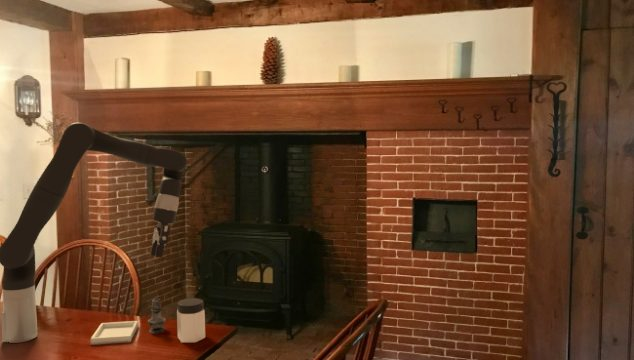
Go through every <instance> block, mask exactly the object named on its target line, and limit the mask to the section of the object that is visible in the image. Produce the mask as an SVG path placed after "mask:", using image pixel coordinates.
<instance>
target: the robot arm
mask: <svg viewBox="0 0 634 360" xmlns="http://www.w3.org/2000/svg"><path fill="white" fill-rule="evenodd" d="M87 151H92V152H99V153H103V154H108V155H112V156H116V157H118V158H121V159H124V160H126V161H129V162H133V163H137V164H141V165H144V166H149V167H155V166H156V167H158V168H163V171H162V179H161V182H160V184H159V185H160V186H159V188H158V189H159V190H158V195H157V197H156V200H155V204H154V209H153V214H152V219H151V220H152V222H156V223H157V225H154V229H153V233H152V234H153V235H152V237H151V244H152V246H151V250H150V256H153V257H156V258H163V255H164V249H165V247H166V245H167V244H168V241H169V234H170V230H171V225H174V224H175V223H176V218H177V215H178V209H179V200H180V197H181V190H182V180H183V176H184V171H185V168H186V166H187V163H188V160H187V159H188V158H187V157H186V155H185V153H183V152H181V151H178V150H174V149H171V148H163V147H157V146H155V145H151V144H148V143H144V142H140V141H136V140H133V139H132V140H131V139H128V138H122V137H117V136H115V135H112V134H108V133H105V132H102V131H100V130H98V129H96V128H94V127H93V126H92V127H91V125H89V124H88V123H84V122H73V123H71V124H69V125H68V126H67V127H65V130H64V132H63V134H62V136H61V139H60V141H59V144H58V145H57V148H56V150H55V153H54V154H53V156H52V158H51V160H50V162H49V163H48V165H47V166H46V167H45V169H44V170H43V172H42V174H41V175H40V177H39V178H38V179H37V181H36V183H35V185H34V186H33V189H32V190H31V191H30V194H29V196H28V198H27V200H26V202H25V204H24V206H23V209H22V211H21V213H20V216H19V218H18V220H17V222H16V224H15V225H14V227H13V228H12V230H11V231H10V233H9V234H8V235H7V237H6V238H5V240H4V241H3V243H2V244H1V245H0V265H1V266H2V267H3V274H2V275H3V276H2V279H1V288H2V289H1V291H2V293H1V295H2V306H3V311H2V312H1V313H0V321H1V336H2V337H1V338H2V339H1V340H2V343H8V342H9V343H10V344H17V343H19V344H20V343H25V342H28V341H31V340H33V339H35V338H36V337H38V326H37V325H38V323H37V321H38V320H37V305H36V304H37V303H36V302H37V301H36V281H35V279H36V250H35V246H34V245H35V244H36V241H37V240H38V237H39V235H40V233H41V232H42V231H43V229H44V228H45V226H46V225H47V224H48V223H49V221H50V220H51V219H52V218H53V216H54V214H55V213H56V211H57V210H58V208H59V207H60V205H61V203H62V202H63V200H64V198H65V196H66V194H67V192H68V189H69V186H70V184H71V181H72V178H73V175H74V173H75V169H76V168H77V166H78V164H79V163H80V161H81V159H82V158H83V156H84V155H85V153H87Z"/></svg>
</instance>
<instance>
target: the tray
mask: <svg viewBox="0 0 634 360" xmlns="http://www.w3.org/2000/svg"><path fill="white" fill-rule="evenodd" d="M138 327H139V321H138V320H130V321H113V322H101V323H100V325H99V326H98V327H97V329H96V330H95V332H94V333H93V334H92V336H91V337H90V345H93V346H95V345H108V344H121V343H131V342H132V340H133V338H134V336H135V333H136V332H137V330H138Z"/></svg>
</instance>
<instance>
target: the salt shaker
mask: <svg viewBox="0 0 634 360" xmlns="http://www.w3.org/2000/svg"><path fill="white" fill-rule="evenodd" d="M161 303H162V302H161V299H160V298H158V296H157V295H155V297H154V298H152V300H151V309H150V311H151V318H149V319H148V320H147V323H148V326H149V327H150V328H149V330H148V333H151V334H161V333H163V332H165V331H166V328H165V327H164V325H165V323H166V321H167V319H166V318H165V317H163V316H162V310H163V308H162V305H161Z"/></svg>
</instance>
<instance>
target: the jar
mask: <svg viewBox="0 0 634 360" xmlns="http://www.w3.org/2000/svg"><path fill="white" fill-rule="evenodd" d="M204 306H205V305H204V300H203V299H201V298H185V299H181V300H179V301H178V302H177V310H176V325H177V326H176V327H177V328H176V329H177V339H178V340H179V341H180V343H197V342H199V341H202V340H203V339H205V338H206V315H205V313H206V312H205V308H204Z"/></svg>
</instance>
